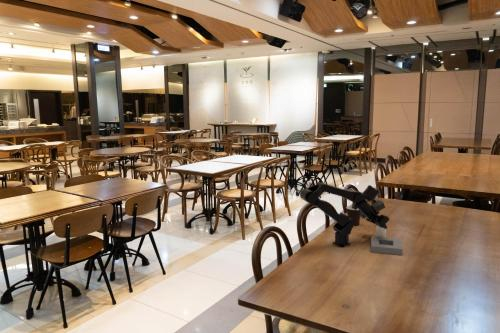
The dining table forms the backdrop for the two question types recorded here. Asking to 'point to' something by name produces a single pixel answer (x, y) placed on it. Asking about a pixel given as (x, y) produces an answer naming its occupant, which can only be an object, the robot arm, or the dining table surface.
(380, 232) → the peg
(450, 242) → the dining table surface
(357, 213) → the coffee mug
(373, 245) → the collar block
